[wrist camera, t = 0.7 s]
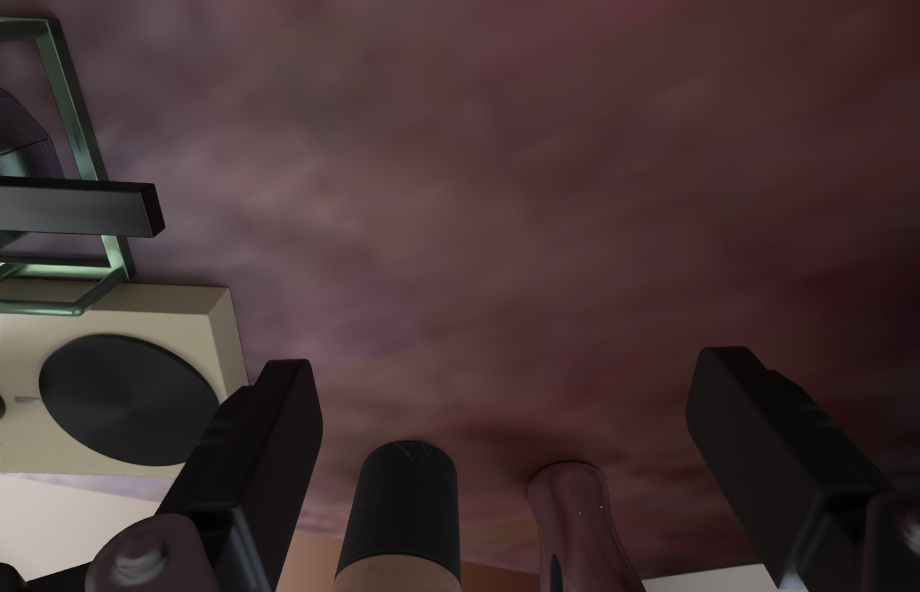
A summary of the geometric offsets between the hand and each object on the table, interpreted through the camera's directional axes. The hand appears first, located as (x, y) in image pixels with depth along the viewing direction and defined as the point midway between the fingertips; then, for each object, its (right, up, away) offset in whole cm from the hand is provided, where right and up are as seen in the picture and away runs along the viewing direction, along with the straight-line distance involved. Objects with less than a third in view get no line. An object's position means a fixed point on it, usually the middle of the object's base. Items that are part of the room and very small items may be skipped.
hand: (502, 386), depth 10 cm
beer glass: (+7, -13, +28) cm, 32 cm away
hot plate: (-24, -3, +22) cm, 32 cm away
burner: (-20, -4, +19) cm, 28 cm away
